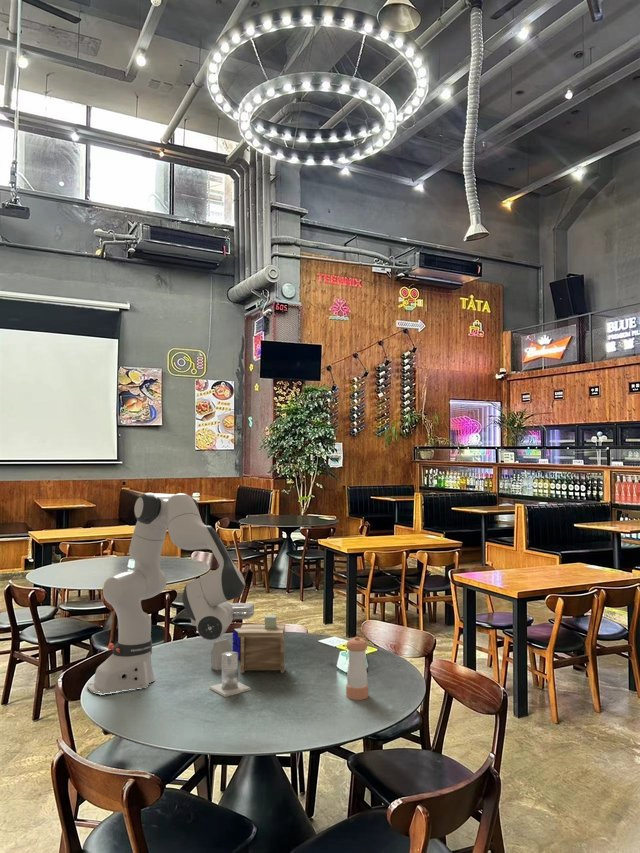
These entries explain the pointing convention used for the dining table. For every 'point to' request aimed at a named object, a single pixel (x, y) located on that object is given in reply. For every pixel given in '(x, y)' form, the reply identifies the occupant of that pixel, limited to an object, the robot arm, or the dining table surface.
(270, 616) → the sage block
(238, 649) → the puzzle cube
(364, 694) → the pepper shaker
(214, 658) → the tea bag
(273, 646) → the box
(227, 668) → the clear glass tumbler
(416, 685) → the dining table surface
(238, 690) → the ceramic tile
